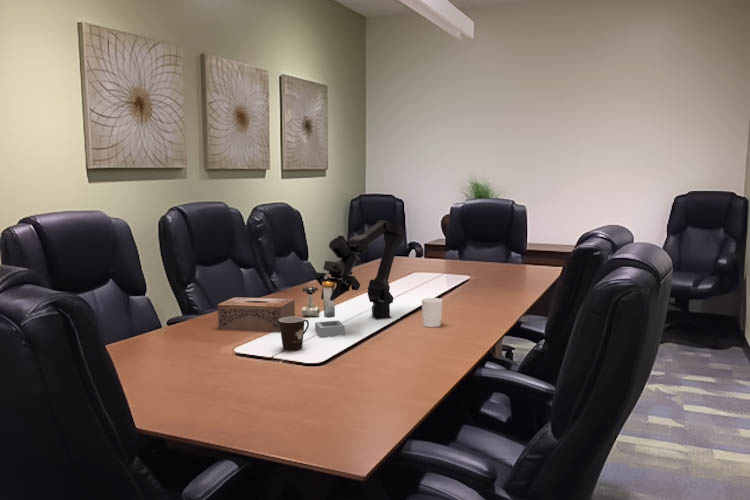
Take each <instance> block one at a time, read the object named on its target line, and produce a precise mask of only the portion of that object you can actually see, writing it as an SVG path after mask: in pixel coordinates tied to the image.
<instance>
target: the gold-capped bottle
mask: <svg viewBox="0 0 750 500" xmlns="http://www.w3.org/2000/svg"><path fill="white" fill-rule="evenodd" d="M335 287H336V283H335V281H323V282H322V290H323V295H324V299H323V318H325V319H328V318H329V319H331V318H335V317H336V307H335V306H336V305H335V304H336V303H335V300H336V299H334V300H333V301H331V300H330V298H331V296H332V294H333V292H334V290H335Z"/></svg>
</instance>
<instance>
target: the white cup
mask: <svg viewBox="0 0 750 500" xmlns="http://www.w3.org/2000/svg"><path fill="white" fill-rule="evenodd" d="M421 311H422V312H421V313H422V314H421V315H422V325H423V327H426V328H438V327H441V325H442V324H441V323H442V313H443V312H442V311H443V299H442V298H438V297H426V298H422V299H421Z"/></svg>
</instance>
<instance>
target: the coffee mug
mask: <svg viewBox="0 0 750 500" xmlns="http://www.w3.org/2000/svg"><path fill="white" fill-rule="evenodd" d="M305 322H306V326H305ZM279 325H280V331H281V332H280V337H281V343H282V344H281V345H282V350H283V351H285V352H296V351H297V352H298V351H300V350H302V349H303V343H304V335H305V333H306V332H307V330H308V329H309V327H310V323H309V321H308V319H305V317H304V316H303V317H301V316H295V317H285V318H281V319H279Z"/></svg>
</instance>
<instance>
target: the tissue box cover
mask: <svg viewBox="0 0 750 500" xmlns="http://www.w3.org/2000/svg"><path fill="white" fill-rule="evenodd" d="M295 310H296V308H295V298H293V299H292V298H269V297H267V298H265V297H264V298H263V297H262V298H261V297H232V298H230V299H227V300H225V301H222V302H220V303H218V304H217V321H218V323H217V324H218V325H217V326H218V330H219V331H221V330H222V331H223V330H224V331H242V332H243V331H244V332H247V331H248V332H266V333H267V332H270V333H281V331H280V325H279V319H281V318H285V317H296V311H295Z"/></svg>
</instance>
